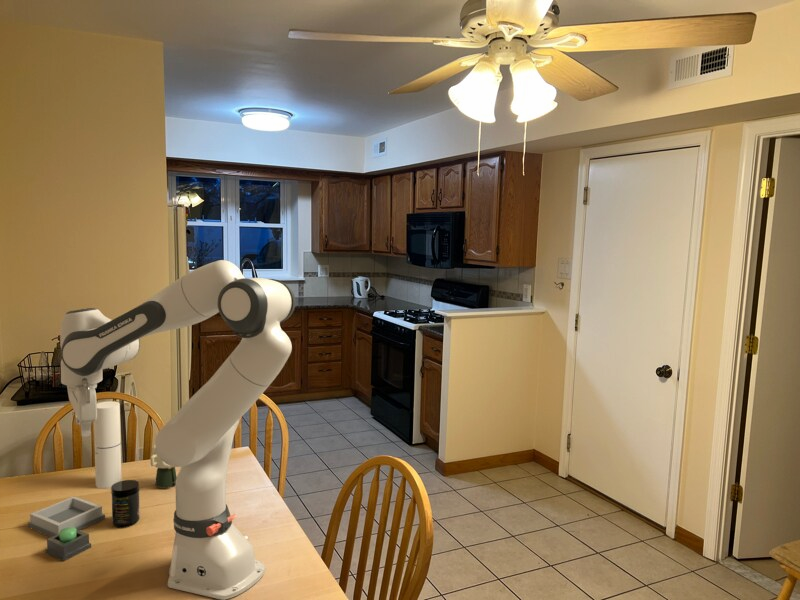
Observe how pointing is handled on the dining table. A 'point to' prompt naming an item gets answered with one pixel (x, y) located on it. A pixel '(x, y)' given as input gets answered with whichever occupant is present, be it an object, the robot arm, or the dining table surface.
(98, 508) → the square shallow tray
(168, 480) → the character mug
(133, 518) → the supplement container
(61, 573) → the dining table surface
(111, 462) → the cylindrical container
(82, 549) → the button housing
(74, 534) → the button
